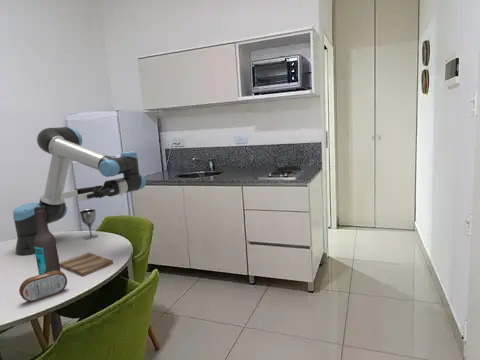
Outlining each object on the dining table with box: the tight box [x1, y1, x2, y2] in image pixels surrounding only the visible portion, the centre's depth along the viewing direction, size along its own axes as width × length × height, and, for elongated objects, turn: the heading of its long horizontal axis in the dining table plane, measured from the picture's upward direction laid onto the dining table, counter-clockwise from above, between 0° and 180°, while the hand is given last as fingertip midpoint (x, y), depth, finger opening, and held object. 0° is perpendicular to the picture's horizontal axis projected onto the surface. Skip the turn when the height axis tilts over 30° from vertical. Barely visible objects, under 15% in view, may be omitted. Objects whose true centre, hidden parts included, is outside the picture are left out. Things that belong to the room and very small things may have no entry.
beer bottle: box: [34, 206, 62, 275], centre depth 135 cm, size 8×8×30 cm
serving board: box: [59, 252, 114, 277], centre depth 149 cm, size 20×14×2 cm
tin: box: [19, 271, 68, 302], centre depth 123 cm, size 15×3×8 cm, turn 131°
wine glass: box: [79, 208, 99, 240], centre depth 188 cm, size 8×8×15 cm
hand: (70, 197), depth 142 cm, fingers open, 13 cm apart
